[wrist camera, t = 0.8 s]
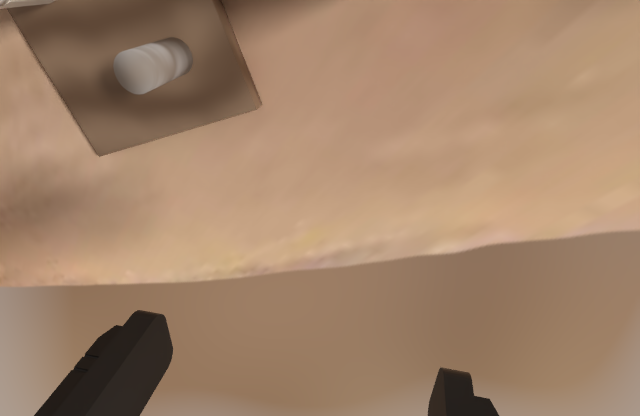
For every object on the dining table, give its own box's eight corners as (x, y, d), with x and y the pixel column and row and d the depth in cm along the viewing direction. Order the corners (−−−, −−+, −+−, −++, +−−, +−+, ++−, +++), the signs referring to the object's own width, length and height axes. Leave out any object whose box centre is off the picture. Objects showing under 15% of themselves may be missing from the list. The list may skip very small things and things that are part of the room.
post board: (-44, -101, 32) (-157, -117, 25) (132, -222, 26) (41, -281, 20) (108, 150, 41) (54, 184, 35) (262, 104, 35) (229, 134, 29)
